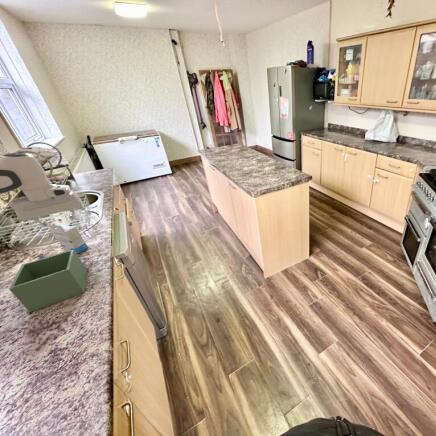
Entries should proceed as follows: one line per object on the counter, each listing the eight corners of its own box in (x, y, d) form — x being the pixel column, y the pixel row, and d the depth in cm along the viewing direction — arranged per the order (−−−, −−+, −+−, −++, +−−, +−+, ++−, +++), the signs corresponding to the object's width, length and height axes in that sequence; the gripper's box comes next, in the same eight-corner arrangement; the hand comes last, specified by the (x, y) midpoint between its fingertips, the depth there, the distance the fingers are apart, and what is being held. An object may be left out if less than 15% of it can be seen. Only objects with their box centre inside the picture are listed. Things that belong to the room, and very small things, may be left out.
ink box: (88, 247, 110) (73, 220, 103) (78, 254, 106) (61, 226, 98) (75, 245, 112) (58, 219, 104) (64, 252, 108) (46, 224, 100)
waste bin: (29, 312, 78) (8, 289, 72) (39, 286, 88) (22, 264, 83) (84, 292, 85) (68, 269, 79) (87, 270, 95) (73, 249, 90)
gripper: (2, 202, 87) (25, 233, 94) (71, 188, 97) (88, 217, 104) (8, 197, 92) (29, 227, 99) (73, 184, 102) (89, 212, 108)
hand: (60, 222), depth 101 cm, fingers open, 8 cm apart
